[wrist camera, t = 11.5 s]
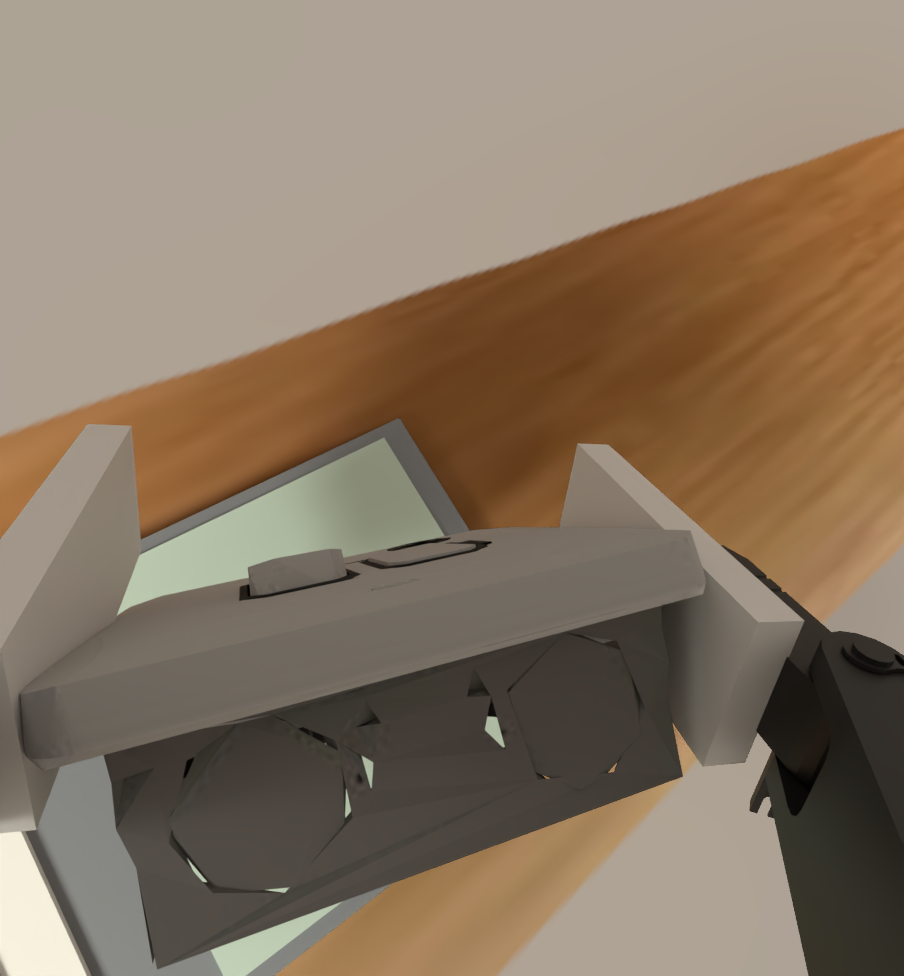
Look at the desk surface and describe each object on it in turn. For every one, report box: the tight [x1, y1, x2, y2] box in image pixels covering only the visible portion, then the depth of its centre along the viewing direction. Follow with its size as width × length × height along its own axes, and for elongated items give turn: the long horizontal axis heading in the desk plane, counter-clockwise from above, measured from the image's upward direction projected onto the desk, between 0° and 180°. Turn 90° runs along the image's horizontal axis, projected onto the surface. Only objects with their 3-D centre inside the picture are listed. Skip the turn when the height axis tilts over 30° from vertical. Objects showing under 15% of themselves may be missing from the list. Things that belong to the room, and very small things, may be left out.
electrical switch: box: [20, 527, 706, 970], centre depth 13 cm, size 9×5×9 cm, turn 105°
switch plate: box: [0, 418, 505, 976], centre depth 20 cm, size 22×13×1 cm, turn 122°
